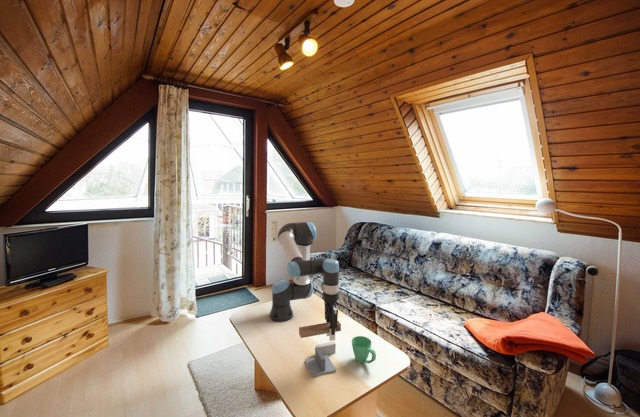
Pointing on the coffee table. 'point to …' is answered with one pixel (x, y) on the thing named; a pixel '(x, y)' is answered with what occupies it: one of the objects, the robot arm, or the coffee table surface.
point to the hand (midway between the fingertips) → (330, 337)
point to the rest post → (327, 348)
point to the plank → (317, 329)
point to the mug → (362, 349)
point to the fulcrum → (319, 364)
